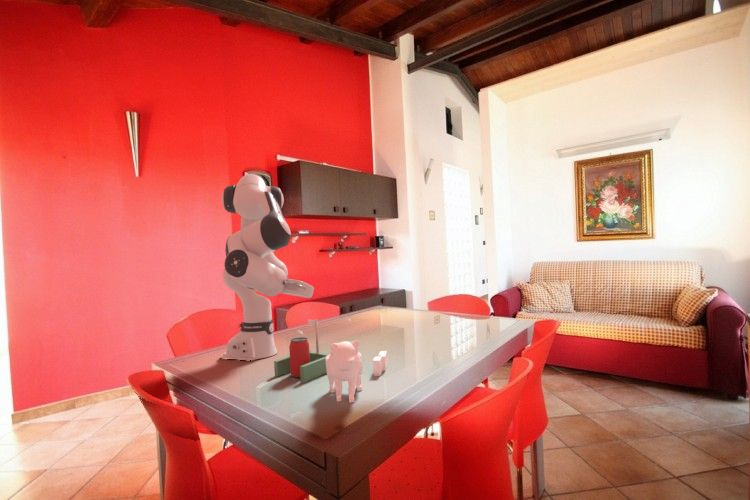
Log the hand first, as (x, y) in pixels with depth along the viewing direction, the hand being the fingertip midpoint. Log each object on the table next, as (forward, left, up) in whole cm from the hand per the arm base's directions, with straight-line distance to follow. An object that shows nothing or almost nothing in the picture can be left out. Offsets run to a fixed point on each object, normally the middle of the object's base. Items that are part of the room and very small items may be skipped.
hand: (294, 292), depth 117 cm
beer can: (-1, +4, -28) cm, 29 cm away
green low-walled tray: (0, +6, -28) cm, 29 cm away
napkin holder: (+25, +10, -29) cm, 40 cm away
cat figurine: (+19, -11, -28) cm, 36 cm away
